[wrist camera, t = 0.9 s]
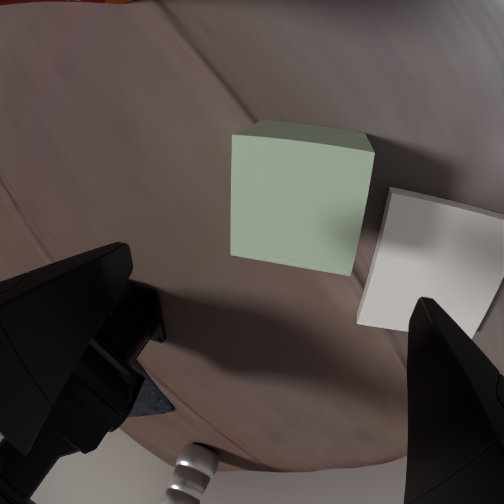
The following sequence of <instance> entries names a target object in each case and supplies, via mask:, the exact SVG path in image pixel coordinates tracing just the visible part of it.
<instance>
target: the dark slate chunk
mask: <svg viewBox="0 0 504 504" xmlns="http://www.w3.org/2000/svg"><path fill="white" fill-rule="evenodd" d="M131 367H133V368H134V369H135V370H136V371H137V372H138V373H139V374H142V375H143V376H144V377H145V381H144V383H143V385H142V387H141V390H140V392H139V394H138V397H137V399H136V401H135V404H134V406H133V408H132V410H131V412H130V414H129V415H128V417H132V416H146V415H154V414H164V413H166V412H169V411H172V410H174V407H173V405H172V404H171V403H170V401H169V399H168V398H167V397H166V396H165V395H164V394H163V393H162V392H161V391H160V390H159V388H158V386H156V384H155V383H154V381H153V380H152V379H151V378H150V377H149V375H148V374H147V373H146V372H145V370H144V369H143V367H142V366H141V365H140V364H139V362H138V361H137V360H135V361H134V363H133V364H132V366H131Z"/></svg>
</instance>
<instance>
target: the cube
mask: <svg viewBox="0 0 504 504" xmlns="http://www.w3.org/2000/svg"><path fill="white" fill-rule="evenodd" d="M374 155H375V152H374V150H373V148H372V146H371V144H370V142H369V140H368V138H367V136H366V134H365V133H363V132H357V131H351V130H345V129H339V128H332V127H325V126H317V125H310V124H301V123H292V122H282V121H271V120H263V121H260V122H258V123H256V124H254V125H252V126H250V127H247V128H245V129H243V130H241V131H239V132H237V133H235V134H232V168H231V255H234V256H239V257H245V258H251V259H256V260H262V261H268V262H273V263H279V264H284V265H290V266H296V267H301V268H307V269H313V270H319V271H324V272H330V273H336V274H341V275H347V276H350V275H351V271H352V267H353V263H354V259H355V254H356V250H357V246H358V241H359V236H360V232H361V227H362V222H363V217H364V212H365V207H366V202H367V196H368V191H369V185H370V180H371V174H372V168H373V161H374Z"/></svg>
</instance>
